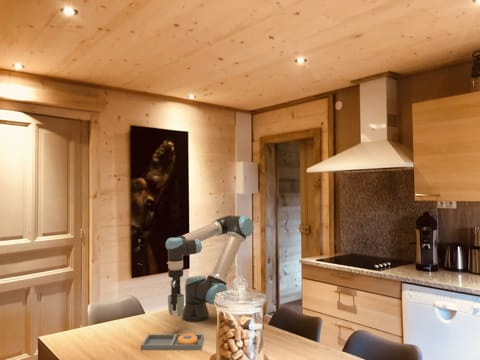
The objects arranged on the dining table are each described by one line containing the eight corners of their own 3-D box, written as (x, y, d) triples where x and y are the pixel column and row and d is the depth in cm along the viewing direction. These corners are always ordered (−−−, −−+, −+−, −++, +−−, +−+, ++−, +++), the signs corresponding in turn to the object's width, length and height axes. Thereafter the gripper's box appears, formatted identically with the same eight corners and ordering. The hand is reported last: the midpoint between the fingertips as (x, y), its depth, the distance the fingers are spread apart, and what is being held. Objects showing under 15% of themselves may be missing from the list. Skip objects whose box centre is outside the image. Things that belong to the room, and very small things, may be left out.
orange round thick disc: (190, 339, 187) (190, 332, 188) (200, 344, 181) (200, 337, 181) (174, 343, 182) (174, 336, 182) (184, 349, 175) (184, 342, 175)
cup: (187, 314, 198) (186, 294, 198) (177, 318, 191) (176, 298, 191) (175, 312, 202) (175, 292, 202) (165, 316, 195) (165, 296, 195)
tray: (203, 339, 188) (203, 334, 188) (200, 351, 174) (200, 345, 174) (148, 339, 188) (148, 334, 188) (140, 351, 174) (140, 345, 174)
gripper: (171, 264, 207) (172, 307, 207) (164, 273, 186) (164, 320, 186) (185, 264, 207) (186, 307, 207) (179, 273, 186) (180, 320, 186)
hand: (176, 313), depth 196 cm, fingers closed on cup, 8 cm apart
